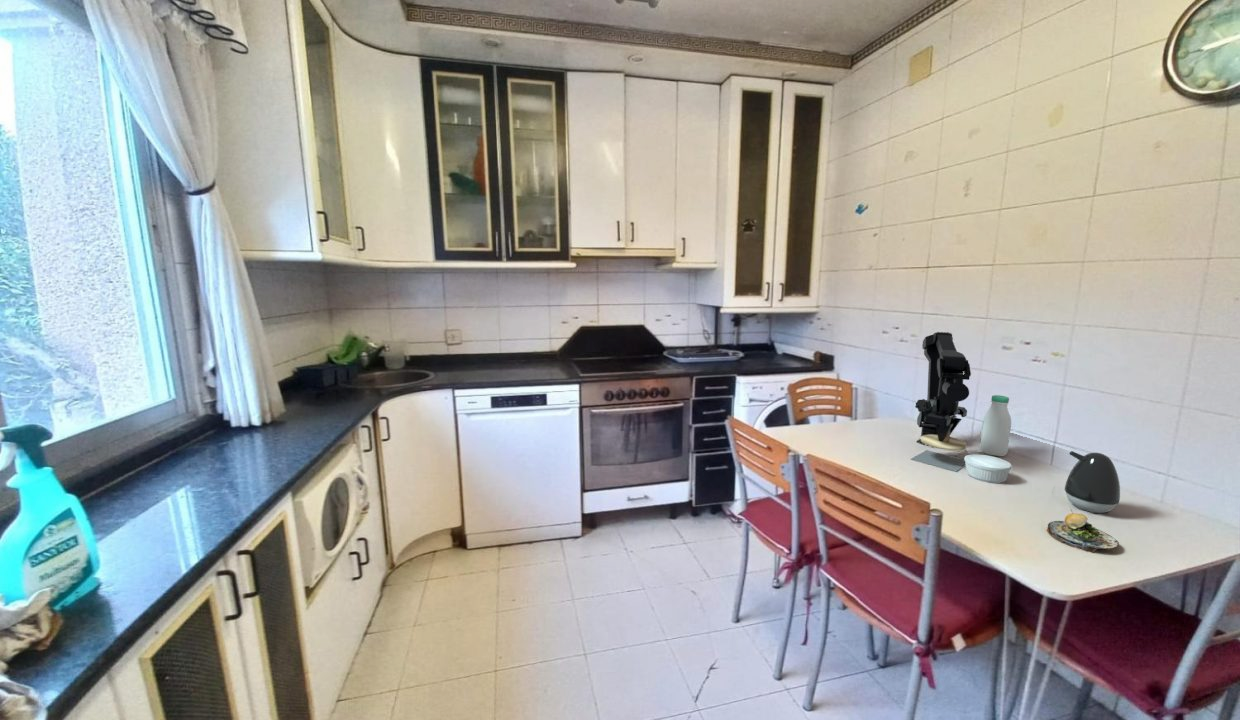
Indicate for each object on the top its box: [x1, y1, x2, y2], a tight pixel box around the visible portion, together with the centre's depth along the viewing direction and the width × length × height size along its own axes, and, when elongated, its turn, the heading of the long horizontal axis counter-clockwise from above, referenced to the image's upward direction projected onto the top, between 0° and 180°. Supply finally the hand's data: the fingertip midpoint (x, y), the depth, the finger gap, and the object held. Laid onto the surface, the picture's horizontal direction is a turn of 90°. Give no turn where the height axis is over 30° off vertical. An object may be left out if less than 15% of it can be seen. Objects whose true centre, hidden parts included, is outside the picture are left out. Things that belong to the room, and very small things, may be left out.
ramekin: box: [963, 453, 1012, 484], centre depth 142 cm, size 11×11×5 cm
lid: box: [920, 431, 967, 452], centre depth 154 cm, size 12×12×4 cm
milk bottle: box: [978, 394, 1012, 457], centre depth 161 cm, size 8×8×20 cm
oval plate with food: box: [1046, 507, 1120, 553], centre depth 108 cm, size 12×12×8 cm
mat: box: [910, 449, 966, 473], centre depth 155 cm, size 13×13×1 cm
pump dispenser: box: [1064, 450, 1121, 514], centre depth 122 cm, size 10×10×15 cm
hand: (943, 440), depth 154 cm, fingers closed on lid, 3 cm apart
